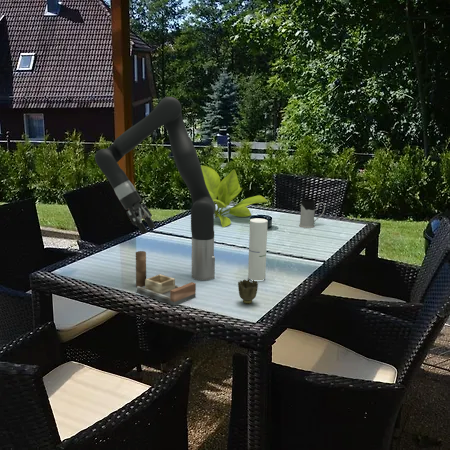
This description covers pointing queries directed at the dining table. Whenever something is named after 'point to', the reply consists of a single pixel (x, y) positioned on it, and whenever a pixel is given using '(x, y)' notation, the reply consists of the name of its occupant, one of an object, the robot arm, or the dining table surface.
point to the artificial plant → (227, 194)
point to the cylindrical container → (257, 249)
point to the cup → (247, 290)
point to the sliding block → (160, 283)
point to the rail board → (172, 294)
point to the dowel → (140, 268)
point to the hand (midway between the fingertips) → (149, 230)
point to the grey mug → (308, 213)
